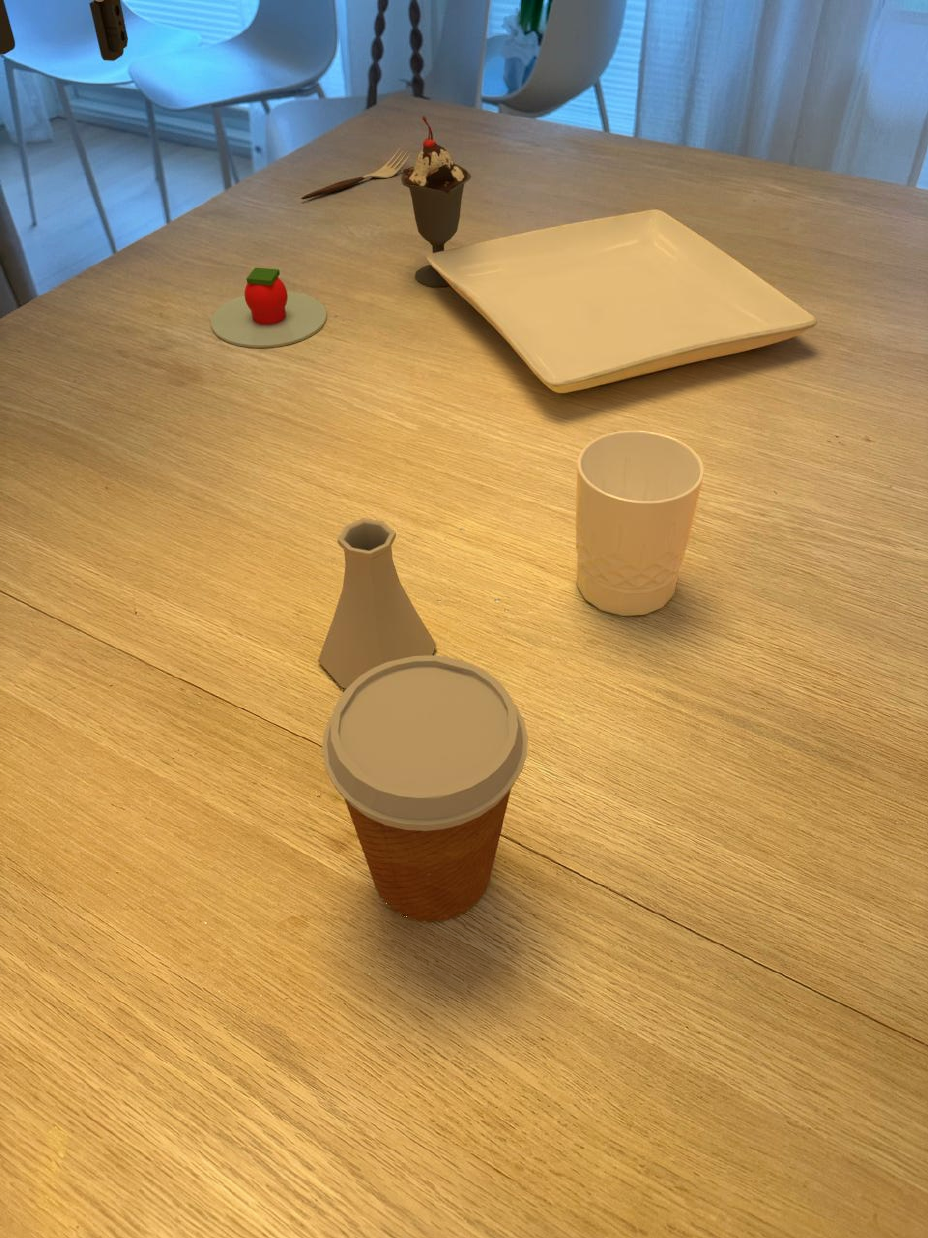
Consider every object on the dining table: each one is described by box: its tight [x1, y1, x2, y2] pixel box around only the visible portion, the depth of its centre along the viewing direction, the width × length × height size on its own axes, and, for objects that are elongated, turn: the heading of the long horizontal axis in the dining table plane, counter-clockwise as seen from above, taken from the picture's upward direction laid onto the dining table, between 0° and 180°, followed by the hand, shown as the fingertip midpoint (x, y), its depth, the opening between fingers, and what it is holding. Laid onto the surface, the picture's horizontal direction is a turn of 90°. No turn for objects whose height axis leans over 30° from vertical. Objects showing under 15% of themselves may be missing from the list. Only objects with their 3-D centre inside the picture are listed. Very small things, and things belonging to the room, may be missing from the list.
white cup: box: [575, 429, 705, 617], centre depth 69 cm, size 8×8×10 cm
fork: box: [300, 148, 413, 200], centre depth 125 cm, size 3×16×2 cm, turn 133°
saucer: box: [210, 290, 328, 349], centre depth 101 cm, size 11×11×1 cm
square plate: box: [425, 209, 818, 394], centre depth 99 cm, size 27×27×4 cm
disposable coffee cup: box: [321, 654, 529, 923], centre depth 52 cm, size 10×10×12 cm
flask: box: [317, 517, 437, 689], centre depth 64 cm, size 7×7×10 cm
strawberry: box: [244, 267, 288, 325], centre depth 99 cm, size 4×4×4 cm
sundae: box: [400, 115, 472, 288], centre depth 102 cm, size 7×7×15 cm
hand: (59, 54), depth 76 cm, fingers open, 8 cm apart
